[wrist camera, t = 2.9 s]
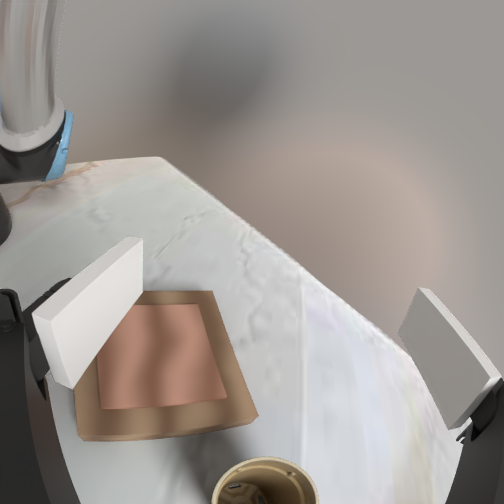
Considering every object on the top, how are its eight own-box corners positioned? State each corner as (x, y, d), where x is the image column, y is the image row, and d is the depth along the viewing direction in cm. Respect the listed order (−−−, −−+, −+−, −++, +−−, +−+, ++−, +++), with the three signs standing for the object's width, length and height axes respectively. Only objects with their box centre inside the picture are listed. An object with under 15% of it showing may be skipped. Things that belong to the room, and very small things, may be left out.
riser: (83, 441, 21) (76, 433, 19) (79, 303, 34) (77, 287, 32) (250, 423, 30) (260, 414, 28) (208, 303, 44) (213, 288, 42)
